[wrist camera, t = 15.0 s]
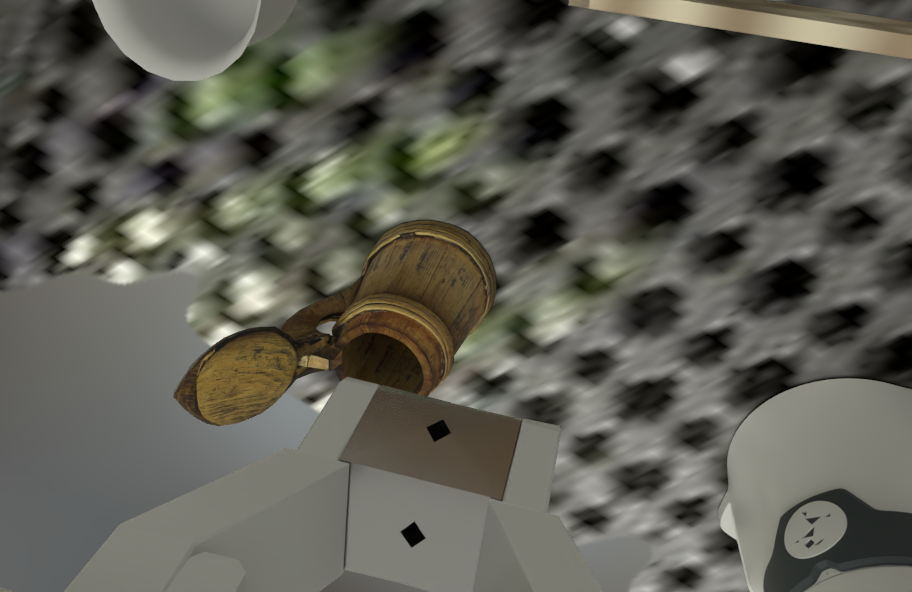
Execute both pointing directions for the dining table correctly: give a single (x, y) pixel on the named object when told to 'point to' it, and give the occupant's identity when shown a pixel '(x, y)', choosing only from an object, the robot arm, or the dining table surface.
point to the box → (775, 21)
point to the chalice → (190, 32)
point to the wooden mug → (357, 328)
